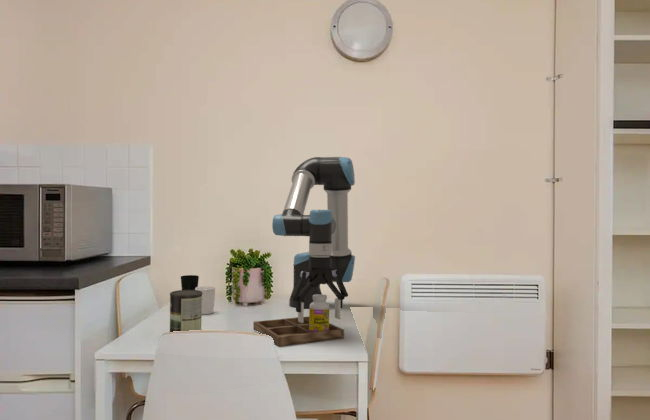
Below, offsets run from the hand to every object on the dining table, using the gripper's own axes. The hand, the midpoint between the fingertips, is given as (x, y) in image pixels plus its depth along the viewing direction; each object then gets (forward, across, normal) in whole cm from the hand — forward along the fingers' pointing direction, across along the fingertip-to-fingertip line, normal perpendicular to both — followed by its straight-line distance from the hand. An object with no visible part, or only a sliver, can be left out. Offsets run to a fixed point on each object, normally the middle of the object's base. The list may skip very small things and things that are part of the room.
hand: (319, 320), depth 163 cm
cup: (+5, -27, +73) cm, 78 cm away
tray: (+5, -6, +6) cm, 9 cm away
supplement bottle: (+5, 0, 0) cm, 5 cm away
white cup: (+5, -26, +52) cm, 58 cm away
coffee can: (+5, -40, +20) cm, 44 cm away
